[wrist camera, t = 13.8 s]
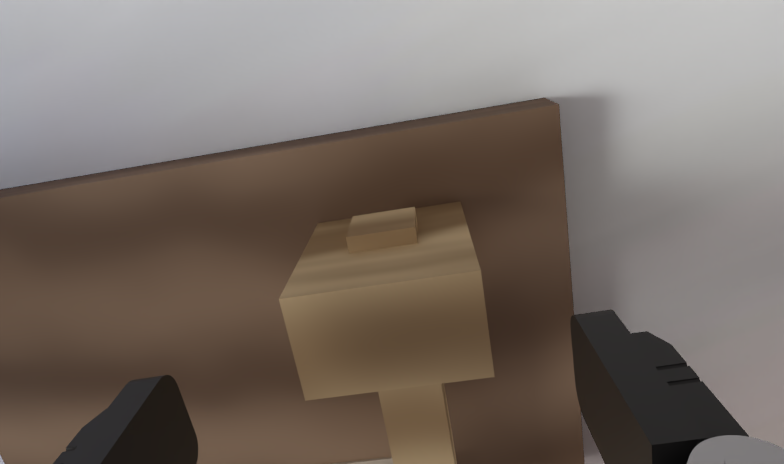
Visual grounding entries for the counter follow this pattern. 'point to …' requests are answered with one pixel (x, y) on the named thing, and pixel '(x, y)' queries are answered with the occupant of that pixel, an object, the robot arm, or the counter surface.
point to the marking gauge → (392, 320)
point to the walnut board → (266, 283)
